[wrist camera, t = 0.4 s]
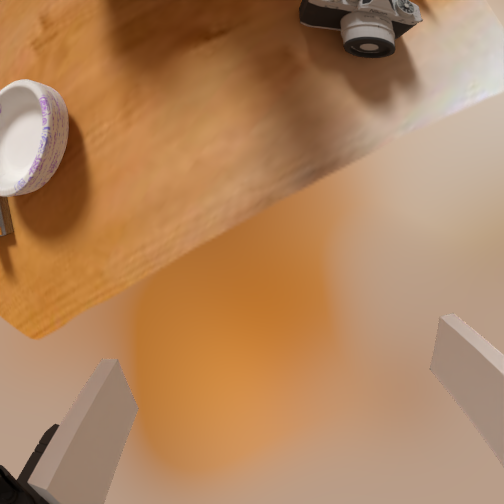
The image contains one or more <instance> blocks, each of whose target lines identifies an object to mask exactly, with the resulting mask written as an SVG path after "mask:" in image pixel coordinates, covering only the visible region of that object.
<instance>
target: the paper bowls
mask: <svg viewBox="0 0 504 504" xmlns="http://www.w3.org/2000/svg"><path fill="white" fill-rule="evenodd" d="M68 119H69V118H68V110H67V107H66V104H65V102H64V100H63V98H62V97H61V95H60V94H59V93H58V92H57V91H56V90H54V89H53V88H51V87H49V86H46V85H44V84H41V83H38V82H35V81H32V80H28V79H24V80H18V81H15V82H12V83H10V84H9V85H7V86H6V87H4V88H3V89H2V90H1V91H0V196H2V197H10V196H16V195H23V194H27V193H30V192H33V191H36V190H38V189H39V188H41V187H42V186H43V185H44V184H46V183H47V182H48V181H49V180H50V178H51V177H52V176H53V174H54V173H55V171H56V170H57V168H58V166H59V164H60V162H61V160H62V158H63V155H64V152H65V149H66V145H67V140H68V133H69V120H68Z"/></svg>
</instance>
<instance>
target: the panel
mask: <svg viewBox="0 0 504 504" xmlns="http://www.w3.org/2000/svg"><path fill="white" fill-rule="evenodd" d="M11 232H14V230H13V226H12V221H11V216H10V211H9V206H8V200H7V197H2V196H0V236H3V235H6V234H9V233H11Z"/></svg>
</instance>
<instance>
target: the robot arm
mask: <svg viewBox="0 0 504 504" xmlns="http://www.w3.org/2000/svg"><path fill="white" fill-rule="evenodd" d="M430 370H431V371H432V373H433V374H434V375H435V376H436V377H437V379H438V380H439V381H440V382H441V384H442V385H443V386H444V387H445V388H446V390H447V391H448V392H449V394H450V395H451V396H452V397H453V399H454V400H455V401H456V402H457V404H458V405H459V406H460V408H461V409H462V410H463V412H464V413H465V414H466V416H467V417H468V418H469V420H470V421H471V422H472V423H473V425H474V426H475V427H476V429H477V430H478V431H479V433H480V434H481V436H482V437H483V438H484V440H485V441H486V443H487V444H488V445H489V447H490V448H491V449H492V451H493V452H494V454H495V455H496V457H497V458H498V459H499V461H500V462H501V463H502V465H503V467H504V355H503V354H502V353H501V352H500V351H498V350H497V349H496V348H495V347H494V346H493V345H492V344H490V343H489V342H488V341H487V340H486V339H484V338H483V337H482V336H481V335H480V334H478V333H477V332H476V331H475V330H473V329H472V328H471V327H470V326H469V325H467V324H466V323H465V322H464V321H463V320H461V319H460V318H459V317H458V316H456V315H455V314H454V313H452V314H448V315H444V316H441V317H440V319H439V325H438V331H437V336H436V341H435V347H434V352H433V356H432V361H431V365H430ZM137 411H138V406H137V404H136V402H135V400H134V397H133V395H132V393H131V390H130V388H129V386H128V383H127V381H126V378H125V376H124V374H123V371H122V369H121V366H120V363H119V361H118V359H102V360H101V361H100V363H99V364H98V366H97V367H96V369H95V370H94V372H93V373H92V375H91V376H90V378H89V379H88V381H87V382H86V384H85V386H84V387H83V389H82V390H81V392H80V394H79V395H78V397H77V398H76V400H75V401H74V403H73V404H72V406H71V408H70V409H69V411H68V413H67V414H66V416H65V417H64V419H63V421H62V422H61V424H60V425H57V424H54V425H53V426H52V427H51V428H50V429H48V430H47V431H46V432H45V433H44V435H43V437H42V438H41V440H40V441H39V444H38V445H37V446H36V448H35V452H33V453H32V455H31V456H30V458H29V460H28V461H27V463H26V465H25V467H24V469H23V470H22V472H21V474H20V475H19V477H18V479H17V480H15V478H14V477H13V476H12V475H11V474H10V473H9V472H8V471H7V470H6V469H5V468H4V467H3V466H2V465H0V504H104V502H105V499H106V496H107V493H108V490H109V487H110V484H111V482H112V479H113V476H114V473H115V470H116V467H117V464H118V462H119V459H120V456H121V453H122V451H123V448H124V445H125V443H126V440H127V437H128V435H129V432H130V429H131V427H132V424H133V421H134V419H135V416H136V414H137Z"/></svg>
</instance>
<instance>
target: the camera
mask: <svg viewBox="0 0 504 504" xmlns="http://www.w3.org/2000/svg"><path fill="white" fill-rule="evenodd" d="M299 13H300V23H301V24H303V25H306V26H308V27H315V28H323V29H331V30H338V31H341V36H342V38H343V43H344V49H345V51H347V52H348V53H350V54H352V55H355V56H359V57H365V58H380V57H386V56H389V55H391V54H393V53H394V51H395V44H394V40H395V39H397V38H399V37H400V36H401V35H403V34H404V33H405V32H407V31H408V30H409V29H411V28H412V27H413V26H415V25H416V24H417V23H419V22H422V21H423V19H422V18H421V14H420V10H419V6H417V5H416V4H414V3H412V2H410V1H409V0H302V3H301V5H300V8H299Z"/></svg>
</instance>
